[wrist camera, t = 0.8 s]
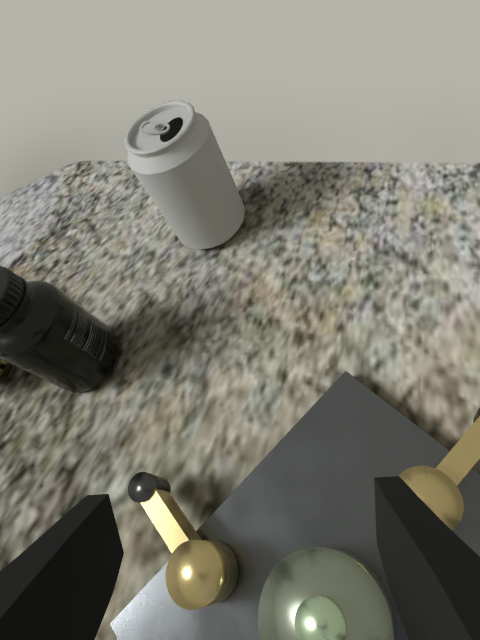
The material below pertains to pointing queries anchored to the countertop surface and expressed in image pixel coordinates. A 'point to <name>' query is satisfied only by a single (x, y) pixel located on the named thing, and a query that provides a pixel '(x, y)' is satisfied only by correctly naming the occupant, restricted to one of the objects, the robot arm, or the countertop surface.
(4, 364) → the cup
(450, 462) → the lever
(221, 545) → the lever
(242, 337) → the countertop surface
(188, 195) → the can
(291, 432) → the plate
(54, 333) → the supplement bottle
